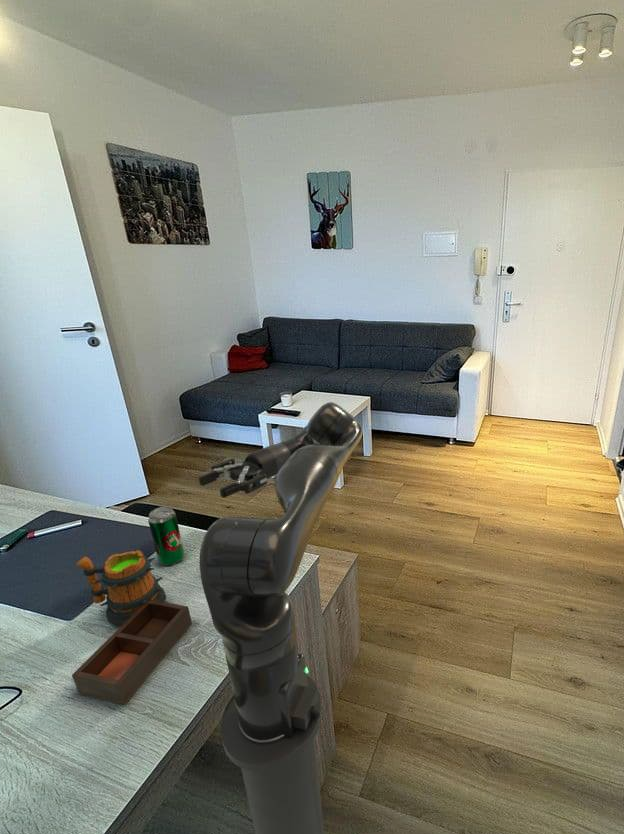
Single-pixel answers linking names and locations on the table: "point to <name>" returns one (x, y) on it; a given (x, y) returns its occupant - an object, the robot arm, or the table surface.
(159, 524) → the soda can
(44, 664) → the table surface
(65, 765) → the table surface
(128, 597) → the mug
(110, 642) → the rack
